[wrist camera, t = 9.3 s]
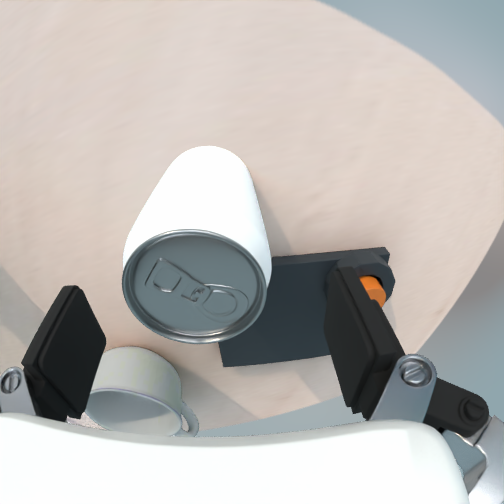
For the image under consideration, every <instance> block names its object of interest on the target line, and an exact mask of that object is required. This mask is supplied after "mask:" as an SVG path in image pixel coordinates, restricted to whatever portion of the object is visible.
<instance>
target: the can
mask: <svg viewBox="0 0 504 504" xmlns="http://www.w3.org/2000/svg"><path fill="white" fill-rule="evenodd" d="M123 269H124V270H123V275H122V289H123V294H124V298H125V300H126V303H127V305H128V307H129V308H130V310H131V312H132V313H133V314H134V316H135V317H136V318H137V319H138V320H139V321H140V322H141V323H142V324H143V325H145V326H146V327H147V328H149V329H150V330H152V331H153V332H155V333H157V334H159V335H161V336H163V337H165V338H168V339H171V340H174V341H178V342H182V343H189V344H209V343H216V342H220V341H224V340H227V339H230V338H232V337H234V336H236V335H238V334H240V333H242V332H243V331H245V330H246V329H247V328H249V327H250V326H251V325H252V324H253V323H254V322H255V321H256V319H257V318H258V317H259V315H260V314H261V312H262V310H263V308H264V305H265V302H266V297H267V287H268V284H269V281H270V277H271V270H272V264H271V254H270V249H269V244H268V240H267V235H266V231H265V227H264V223H263V219H262V215H261V211H260V208H259V204H258V200H257V196H256V193H255V189H254V185H253V182H252V178H251V176H250V173H249V171H248V169H247V167H246V166H245V164H244V163H243V162H242V161H241V159H239V158H238V157H237V156H236V155H235V154H233V153H232V152H230V151H228V150H225V149H223V148H219V147H214V146H201V147H196V148H193V149H190V150H188V151H186V152H184V153H183V154H181V155H180V156H179V157H177V158H176V159H175V160H174V161H173V163H172V164H171V165H170V166H169V168H168V169H167V171H166V172H165V174H164V175H163V177H162V178H161V180H160V181H159V183H158V185H157V186H156V188H155V189H154V191H153V193H152V194H151V196H150V198H149V199H148V201H147V203H146V204H145V206H144V208H143V209H142V211H141V213H140V215H139V216H138V218H137V220H136V222H135V224H134V226H133V227H132V229H131V231H130V234H129V236H128V238H127V241H126V244H125V248H124V253H123Z"/></svg>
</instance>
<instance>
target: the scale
mask: <svg viewBox="0 0 504 504" xmlns="http://www.w3.org/2000/svg"><path fill="white" fill-rule="evenodd" d="M389 256H390V253H389V252H388V251H387V250H386V248H385V247H380V248H369V249H359V250H348V251H337V252H327V253H316V254H305V255H294V256H283V257H272V258H271V264H272V270H271V277H270V281H269V284H268V287H267V297H266V302H265V305H264V308H263V310H262V312H261V314H260V315H259V317H258V318H257V319H256V321H255V322H254V323H253V324H252V325H251V326H250V327H249V328H247V329H246V330H245V331H243V332H242V333H240V334H238V335H236V336H234V337H232V338H230V339H227V340H224V341H220V342H218V343H219V348H220V353H221V358H222V362H223V367H234V366H246V365H257V364H267V363H276V362H284V361H292V360H300V359H307V358H314V357H320V356H326V355H331V354H330V351H329V347H328V344H327V341H326V338H325V335H324V329H323V324H324V318H325V311H326V304H327V297H328V290H329V282H330V275H331V272H335V270H336V268H337V267H345V266H352V267H353V268H354V270H355V271H356V273H357V275H358V277H362V276H372V277H374V278H376V279H377V280H378V282H379V284H380V285H381V287H382V288H383V290H384V291H385V294H386V301H387V300H388V299H389V297H390V296H391V294H392V291H393V288H394V284H395V279H394V276H393V273H392V270H391V268H390V267H389V266H388V260H389ZM386 301H385V302H386Z"/></svg>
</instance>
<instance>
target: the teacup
mask: <svg viewBox="0 0 504 504" xmlns="http://www.w3.org/2000/svg"><path fill="white" fill-rule="evenodd" d="M85 413H86V414H87V415H88V416H89V417H90V418H91V419H92V420H93V421H94V422H95V423H97V424H98V425H100V426H101V427H103V428H105V429H107V430H110V431H118V432H126V433H135V434H146V435H159V436H173V435H175V436H178V437H195V436H196V435H197V433H198V431H199V423H198V420H197V417H196V416H195V414H194V413H193V411H192V410H191V409H190V408H189V407H188V406H187V405H186V404H185V403H184V402H183V401H182V389H181V381H180V378H179V376H178V373H177V372H176V370H175V369H174V367H173V366H172V365H171V364H170V363H169V362H168V361H167V360H165V359H164V358H162V357H161V356H159V355H158V354H156V353H154V352H152V351H150V350H147V349H144V348H140V347H132V346H129V347H118V348H114V349H111V350H109V351H107V352H105V353H103V355H102V358H101V361H100V364H99V367H98V370H97V373H96V376H95V379H94V382H93V386H92V389H91V392H90V396H89V399H88V403H87V406H86V410H85ZM181 414H182V415H183V416H184V417H185V419H186V421H187V423H188V426H189V430H188V432H186V431H185V430H183V429H182V428H181V427H182V418H181Z"/></svg>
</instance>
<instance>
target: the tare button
mask: <svg viewBox="0 0 504 504" xmlns="http://www.w3.org/2000/svg"><path fill="white" fill-rule="evenodd" d="M359 278H360V280H361V282H362V284H363V286H364V288H365V289H366V291H367V293H368V295H369V297H370V299H371V300H372V299H375V300H377V302H378V303H379V305H380V306H381V308H382V306H383V305H384V303H385V301H386V294H385V291H384V290H383V288H382V287H381V285H380V284H379V282H378V280H377V279H376V278H374V277H372V276H362V277H359Z"/></svg>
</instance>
